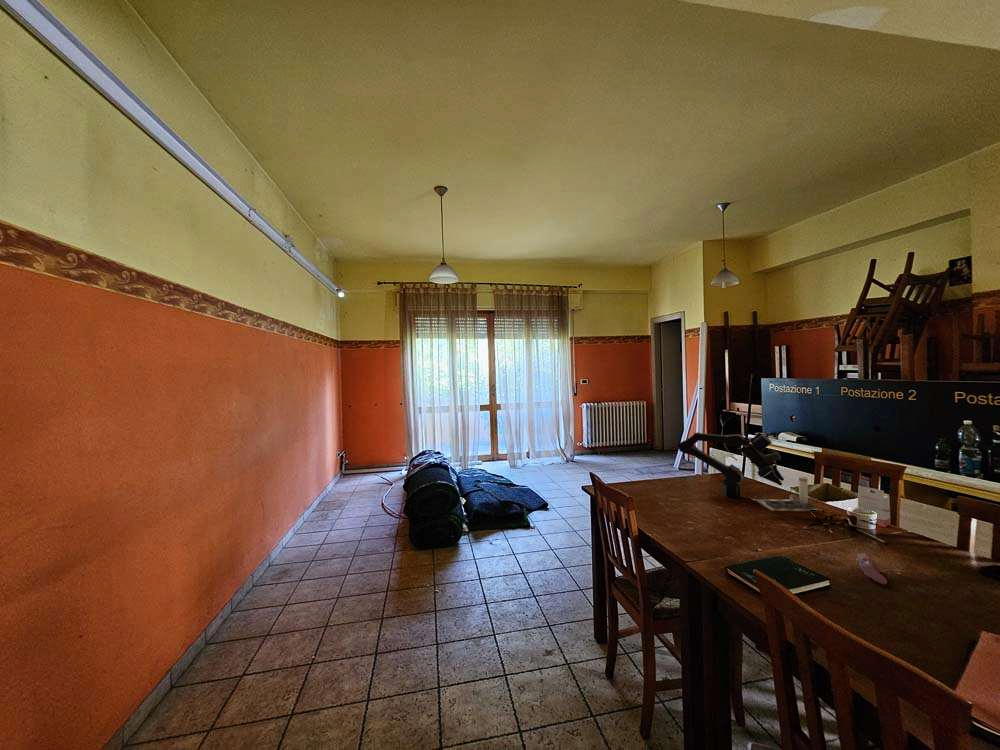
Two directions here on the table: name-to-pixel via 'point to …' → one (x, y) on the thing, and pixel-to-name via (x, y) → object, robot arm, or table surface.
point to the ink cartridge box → (875, 504)
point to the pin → (803, 491)
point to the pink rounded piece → (871, 568)
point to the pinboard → (786, 504)
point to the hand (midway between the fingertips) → (782, 482)
